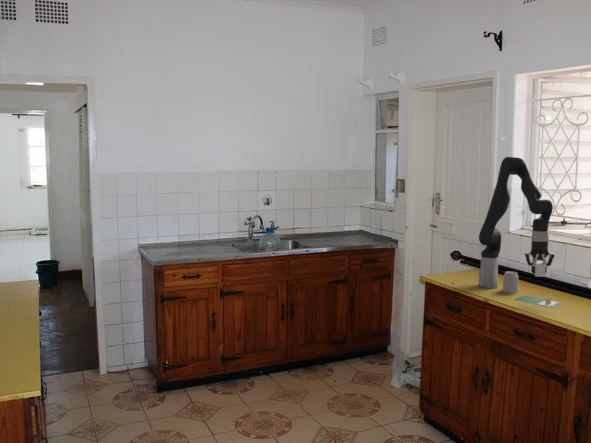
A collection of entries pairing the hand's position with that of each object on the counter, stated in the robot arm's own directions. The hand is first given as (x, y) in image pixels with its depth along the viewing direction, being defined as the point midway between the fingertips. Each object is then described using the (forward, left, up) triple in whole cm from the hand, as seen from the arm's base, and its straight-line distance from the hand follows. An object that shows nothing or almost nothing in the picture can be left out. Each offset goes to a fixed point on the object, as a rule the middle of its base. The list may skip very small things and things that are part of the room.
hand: (538, 273), depth 277 cm
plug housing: (0, 0, -1) cm, 1 cm away
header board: (0, +2, -16) cm, 16 cm away
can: (-19, +10, -16) cm, 27 cm away
